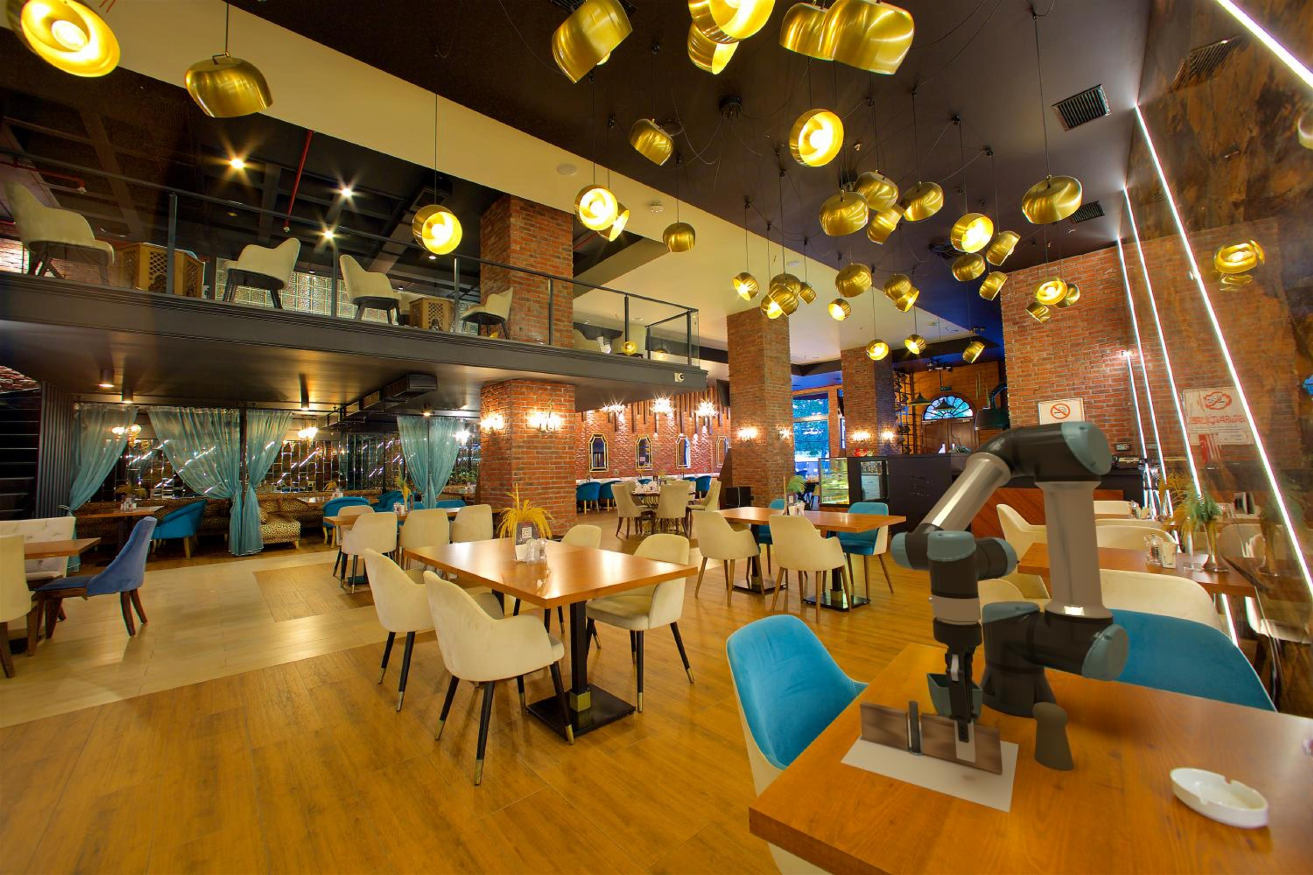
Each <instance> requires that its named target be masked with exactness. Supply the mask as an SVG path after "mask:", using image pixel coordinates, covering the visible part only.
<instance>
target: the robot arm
mask: <svg viewBox="0 0 1313 875" xmlns="http://www.w3.org/2000/svg"><path fill="white" fill-rule="evenodd" d="M1112 454H1113V453H1112V450H1111V447H1110V444H1109V440H1108V438H1107V437H1106V434H1104V432H1103V431H1102V429H1100V427H1099V426H1098V425H1096V424H1095V423H1093V422H1090V421H1087V420H1080V421H1079V420H1077V421H1076V420H1075V421H1074V420H1073V421H1070V420H1069V421H1068V420H1067V421H1063V422H1053V423H1052V422H1051V423H1044V424H1036V425H1035V424H1034V425H1025V426H1024V425H1023V426H1015V427H1012V428H1008V429H1004V430H1003V431H1001V432H999V433H997V434H995V435H993V436H992V437H990V438H989V439H987V440H985V442H983V443H982V444H980V445H979V446H978V447H977V448H976V449H975V450H974V451H973V452H972V453H971V454H970V455H969V457H968V458H967V459H966V462H965V468H964V470H963V471H962V473H960V475H959V476H958V477H957V478H956V480H955V481H953V483H952V484H951V486H949V488H948V489H947V490H946V491H945V493H943V495H942V497H941V498H940V499H939V500H938V501H937V502H936V504H935V505H934V506H933V508H932V509H931V510H930V511H929V512H928V514H926V516H925V517H924V518H923V520H921V522H920V523H919V524H918V526H916V528H915V529H914V530H913V531H912V532H909V531H906V532H899V533H896V534H895V535H894V536H893V537H892V540H891V543H890V547H889V550H890V552H889V553H890V556H891V558H892V560H893V561H894V563H895V564H896V565H897V566H899V567H901V568H905V569H910V570H914V571H920V572H921V571H922V572H929V579H930V580H929V581H930V596H931V597H928V598H927V602H928V603H930V604H932V605H931V610H932V615H933V616H934V618H933V619H932V629H933V631H932V634H933V638H934V640H935V641H937V643H941V644H944V645H946V646H947V647H948V648H947V650H946V652H945V653H944V662H945V664H946V667H945V671H944V672H945V674H946V675H947V680H948V688H949V696H950V705H951V714H952V715H951V714H950V715H949V719H951V720H954V726H955V740H956V754H957V758H958V759H962V760H966V761H970V762H974V763H975V760H976V755H975V741H974V728H973V720H971V718H973V719H977V714H974V713H972V711H973V710H974V706H973V688H972V680H973V673H974V672H973V662H974V654H973V652H972V651H969V648H976V647H979V646H981V645H983V651H984V652H983V653H984V662H985V663H984V668H983V672H982V675H981V679H980V682H979V684H978V685H979V686H980V687H981V688H982V689H983V693H982V704H984V705H985V706H988V707H989V708H992V709H994V710H997V711H1000V712H1003V713H1006V714H1009V715H1015V716H1019V717H1027V718H1034V715H1033V711H1032V710H1033V706H1034V705H1035V704H1036V703H1039V702H1047V703H1052V704H1055V705H1058V702H1057V698H1056V696H1055V693H1054V691H1053V690H1052V687H1051V685H1050V683H1049V680H1048V678H1047V676H1046V670H1045V668H1049V669H1053V670H1057V671H1061V672H1064V673H1068V674H1073V675H1077V676H1080V677H1083V678H1084V679H1091V680H1097V681H1102V682H1113V681H1114V680H1116V679H1118V678H1119V677H1120V676H1121V674H1122V673H1123V671H1124V670H1125V666H1126V665H1127V662H1128V658H1129V652H1130V638H1129V635H1128V631H1127V630H1126V629H1125V627H1123V626H1121V625H1119V624H1117V623H1114V614H1113V613H1112V612H1111V611H1110V610H1109V609H1108V608H1107V607H1106V606H1105V605H1104V604H1103V594H1102V583H1101V582H1102V581H1101V571H1100V562H1099V561H1100V560H1099V559H1100V557H1099V549H1098V536H1097V528H1096V527H1097V524H1096V516H1095V515H1096V513H1095V512H1096V511H1095V503H1094V502H1095V500H1094V490H1095V489H1096V488H1097V487H1099V485H1101V484H1102V477H1101V476H1102V475H1105V474H1108V473H1109V472H1110V471H1111V468H1112V463H1113V455H1112ZM1022 476H1023V477H1024V476H1026V477H1031V476H1032V477H1033V480H1034V481H1033V482H1034V485H1035V486H1037V487H1038V488H1039V489H1041V490H1042V493H1043V502H1044V516H1045V526H1046V528H1045V529H1046V542H1047V552H1048V553H1047V554H1048V555H1047V556H1048V565H1049V576H1050V577H1049V579H1050V590H1051V592H1050V593H1051V600H1050V601H1049V602H1048V603H1046V604H1045V605H1044V607H1043V610H1044V611H1041V607H1040V606H1039V604H1038V603H1036V602H1031V601H1020V600H1019V601H1015V600H1013V601H1012V600H1010V601H1009V600H1008V601H996V602H995V601H994V602H989V603H986V604H984V605H983V606H982V608H981V601H980V600H981V598H980V596H979V595H980V594H979V582H982V581H984V582H985V581H988V580H994V579H995V580H999V579H1001V578H1004V577H1007V576H1009V575H1010V574H1012V573H1013V572H1014V571H1015V570H1016V568H1017V565H1018V560H1019V559H1018V555H1017V552H1016V549H1015V548H1014V547H1013V545H1012V544H1010V542H1008V541H1007V540H1005V539H1003V538H1000V537H992V536H985V537H982V538H981V537H978V538H977V537H974V534H973V533H972V532H970V531H967V530H966V529H967V528H968V526H969V525H970V523H971V522H972V521H973V520H974V518H975V517H976V515H977V514H978V513H980V511H981V509H982V507H984V506H985V504H986V503H987V501H988V500H989V499H990V498H991V496H992V495H993V494H994V492H995V491H996V490H997V488H999V487H1002V486H1005V485H1006V484H1007V483H1008V482H1009V481H1011V480H1010V479H1013V478H1017V477H1022ZM965 530H966V531H965ZM980 620H981V622H979V621H980Z"/></svg>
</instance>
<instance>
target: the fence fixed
mask: <svg viewBox="0 0 1313 875" xmlns="http://www.w3.org/2000/svg"><path fill="white" fill-rule="evenodd" d="M859 707H860V725H861V726H860V727H861V734H862V739H865V740H869V741H873V742H877V743H880V744H884V745H888V746H892V747H896V748H899V749H903V750H907V751H908V750H909V748H910V745H909V729H908V719H910V733H911V750H912V752H914V753H921V746H920V730H919V722H920V715H919V703H918V702H917V701H915V700H909V701H908V710H904V709H899V708H897V707H896V708H895V707H891V706H886V705H881V704H877V703H873V702H868V701H864V700H862V701H861V702H860V703H859ZM908 715H909V716H908Z"/></svg>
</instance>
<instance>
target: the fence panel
mask: <svg viewBox="0 0 1313 875" xmlns="http://www.w3.org/2000/svg"><path fill="white" fill-rule="evenodd" d="M919 721H920V722H921V733H922V748H923V753H925V754H928V755H932V756H936V757H940V758H944V759H947V760H951V761H955V762H959V763H963V764H967V765H970V766H974V767H978V768H982V769H986V770H989V771H993V772H997V773H1001V774H1002V770H1003V769H1002V756H1001V743H1000V740H1001V733H1000V729H999V728H995V727H991V726H986V725H981V724H979V723H976V724H973V728H974V741H975V755H976V760H975V763H974V762H970V761H966V760H962V759H958V758H957V754H956V740H955V726H954V720H951V719H949V718H946V717H941V716H939V715H938V714H932V713H927V712H923V711H922V712H921V714H920V715H919Z"/></svg>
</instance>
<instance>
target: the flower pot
mask: <svg viewBox="0 0 1313 875" xmlns="http://www.w3.org/2000/svg"><path fill="white" fill-rule="evenodd" d="M925 675H926V681H927V685H928V691H929V692H928V693H929V696H930V700H931V703H932V705H933V707H934V709H935V711H936V713H937V716H941V717H946V718H949V715H950V714H951V705H950V696H949V688H948V680H947V675H946V673H934V672H927V673H926V674H925ZM979 685H980V684H978V683H977V682H975V681H974V680H973V679H972V688H973V706H974V710H973V711H972V713H974V714H977V719H973V718H971V720H973V724H978V721H979V720H980V717H981V715H982V707H983V702H982V693H983V689H982V688H981V687H980V686H979ZM951 715H952V714H951Z"/></svg>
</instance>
